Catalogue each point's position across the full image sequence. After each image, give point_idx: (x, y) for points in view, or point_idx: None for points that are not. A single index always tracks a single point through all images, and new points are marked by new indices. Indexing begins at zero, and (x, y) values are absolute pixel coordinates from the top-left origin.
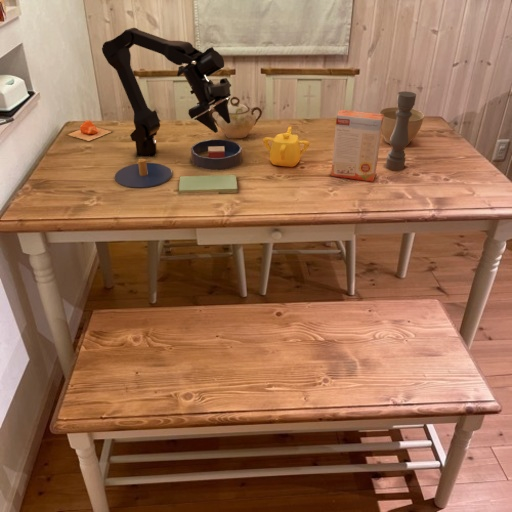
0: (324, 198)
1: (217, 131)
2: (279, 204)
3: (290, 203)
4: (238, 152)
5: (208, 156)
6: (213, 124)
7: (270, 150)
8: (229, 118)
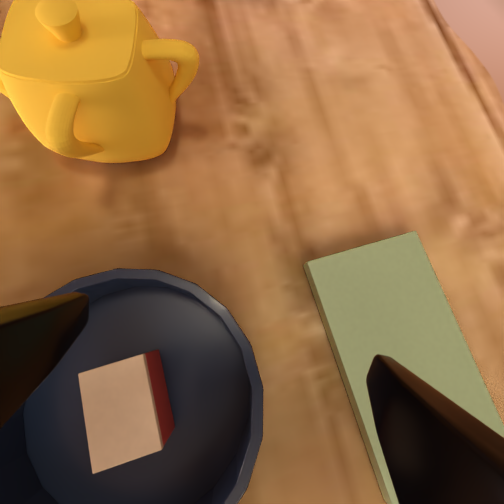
0: (352, 10)
1: (387, 357)
2: (428, 107)
3: (411, 82)
4: (156, 275)
5: (168, 437)
6: (475, 420)
7: (119, 136)
8: (46, 303)
